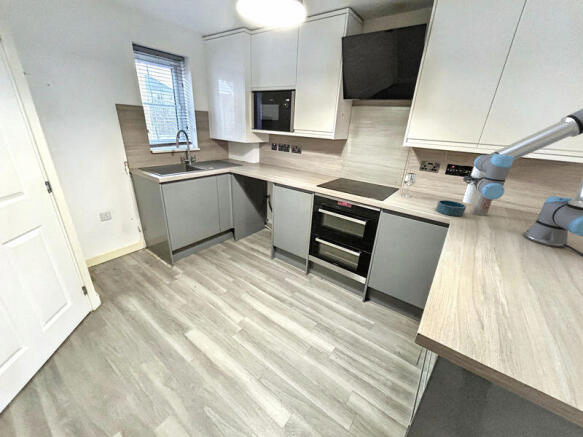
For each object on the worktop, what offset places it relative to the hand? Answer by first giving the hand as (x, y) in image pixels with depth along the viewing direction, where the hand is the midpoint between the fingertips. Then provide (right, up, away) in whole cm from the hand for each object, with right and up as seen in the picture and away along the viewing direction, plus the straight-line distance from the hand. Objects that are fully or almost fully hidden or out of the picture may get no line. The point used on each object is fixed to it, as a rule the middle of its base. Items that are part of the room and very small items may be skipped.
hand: (476, 177), depth 136 cm
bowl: (-2, -20, +20) cm, 28 cm away
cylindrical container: (-3, -15, +1) cm, 15 cm away
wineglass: (-15, -6, +53) cm, 55 cm away
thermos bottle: (+18, -21, +20) cm, 34 cm away
